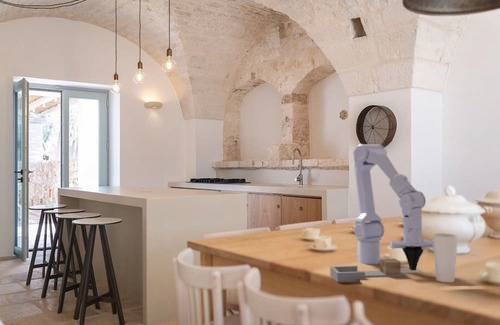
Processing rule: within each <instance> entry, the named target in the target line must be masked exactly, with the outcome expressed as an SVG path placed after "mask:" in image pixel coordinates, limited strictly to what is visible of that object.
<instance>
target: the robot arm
mask: <svg viewBox="0 0 500 325" xmlns="http://www.w3.org/2000/svg"><path fill="white" fill-rule="evenodd" d="M352 154H353V161H354V175H355V176H354V177H355V183H356V191H357V199H358V207H359V215H358V216H357V217H356V218H355V219H354V224H355V225H354V228H353V229H354V231H353V232H354V236H355V237H356V239H357V241H358V242H357V244H356V259H357V260H358V262H359V263H360V264H363V265H364V264H365V265H378V264H379V265H380V259H381V258H380V256H381V255H380V252H381V251H380V250H381V249H380V247H381V246H380V245H381V244H380V241H382V238H383V236H384V234H385V228H384V224H383V223H382V217H380V215H378V214H377V213H376V209H375V208H376V206H375V200H374V192H373V185H372V178H371V177H372V175H371V170H372V169H373V167H375V166H376V165H377V166H378V168H379V169H380V170H381V171H382V172H383V173H384V175H385V176H387V178H388V179H389V186H390V187H391V189H392V190H393V192H394V194H396V196H397V197H398V199H399V200H398V202H399V206H400V208H401V213H402V216H403V218H402V219H403V223H402V224H403V225H402V227H403V229H402V230H403V233H402V234H403V239H402V240H396V241H389V248H391V249H392V250H394V249H402V251H403V254H404V255H405V257H406V260H407V264H408V268H409V269H410V270H416V269H417V267H418V263H419V261H420V258H421V256H422V254H423V253H424V248H432V249H434V248H433V240H423V234H422V233H423V232H422V231H423V229H422V226H423V225H422V224H423V223H422V222H423V221H422V220H423V218H422V216H423V214H422V211H423V210H422V209H423V208H424V207H425V205H426V203H427V202H426V197H425V195H424V193H423V192H422V191H419V190H417V189H415V187H414V186H413V185H412V184H411V182H410V181H409V180H408V176H406V175H404V174H399V172H398V171H397V169H396V168H395V166H394V165H393V163H392V161H391V160H390V158H389V157H388V151H387V149H385V147H384V146H383V145H382V144H380V143H375V144H371V143H370V144H369V143H366V144H365V143H364V144H363V143H360V144H358V145H357V146H356V147H355V149H354V150H353V153H352Z"/></svg>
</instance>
